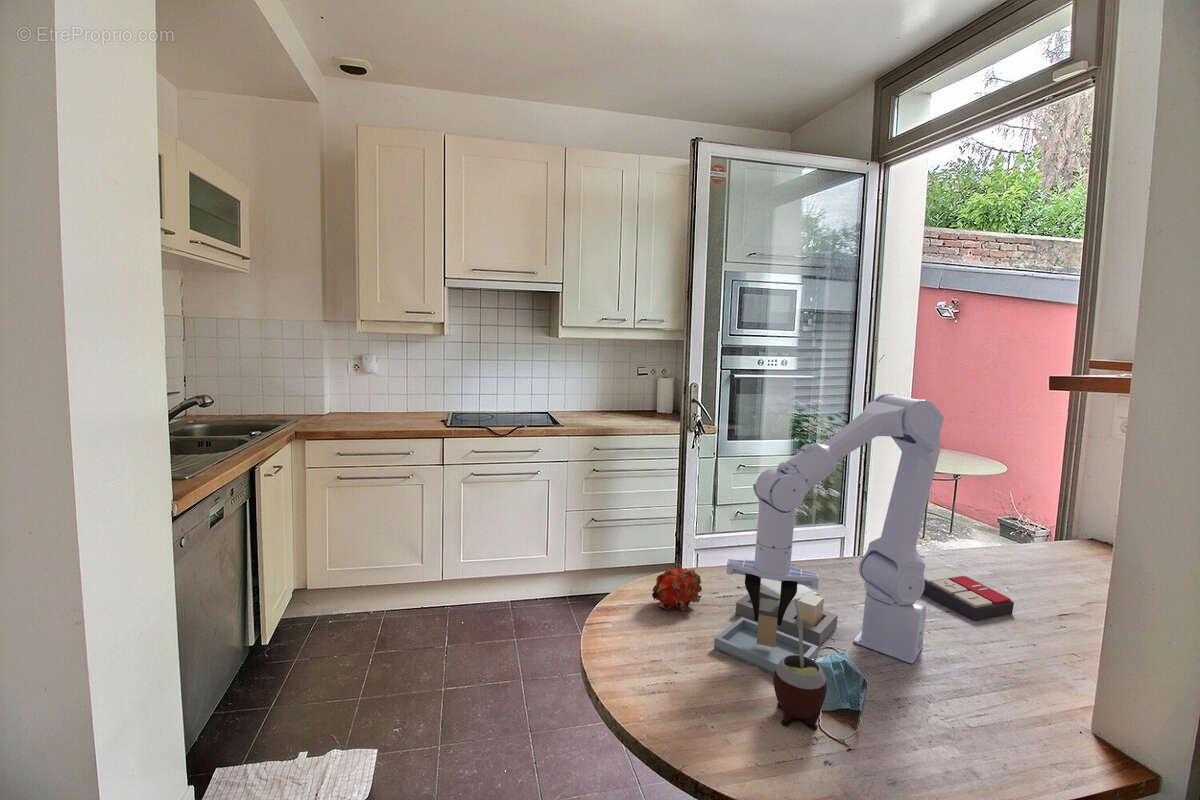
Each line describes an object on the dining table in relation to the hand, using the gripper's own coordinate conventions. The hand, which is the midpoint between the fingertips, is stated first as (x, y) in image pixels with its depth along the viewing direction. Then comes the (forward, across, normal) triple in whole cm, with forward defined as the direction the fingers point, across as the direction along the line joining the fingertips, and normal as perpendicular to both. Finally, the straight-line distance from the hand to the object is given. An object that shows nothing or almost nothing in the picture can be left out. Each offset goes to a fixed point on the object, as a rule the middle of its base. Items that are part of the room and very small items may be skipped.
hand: (767, 620), depth 96 cm
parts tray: (+6, 0, 0) cm, 6 cm away
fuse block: (+6, -3, -13) cm, 14 cm away
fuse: (+6, -7, -11) cm, 15 cm away
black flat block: (+7, -37, -36) cm, 53 cm away
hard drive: (+7, -2, -27) cm, 28 cm away
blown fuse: (+3, 0, 0) cm, 3 cm away
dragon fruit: (+6, +17, -10) cm, 21 cm away
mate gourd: (+6, -5, +15) cm, 17 cm away
